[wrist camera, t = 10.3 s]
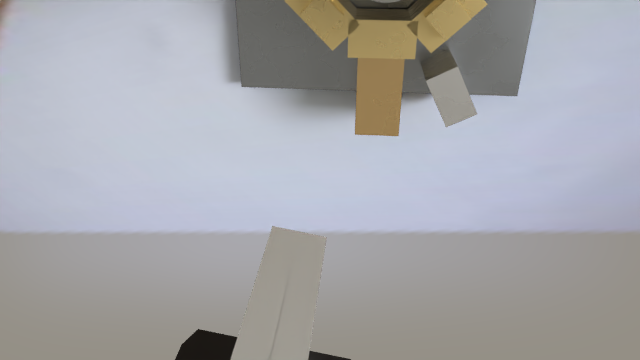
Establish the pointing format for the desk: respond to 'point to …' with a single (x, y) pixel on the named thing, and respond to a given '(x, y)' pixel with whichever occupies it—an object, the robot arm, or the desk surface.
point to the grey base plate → (419, 74)
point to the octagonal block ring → (383, 47)
